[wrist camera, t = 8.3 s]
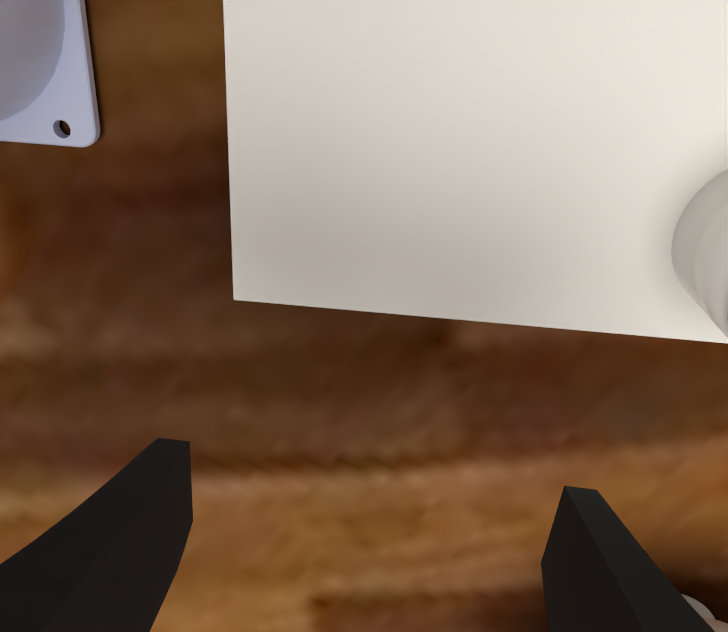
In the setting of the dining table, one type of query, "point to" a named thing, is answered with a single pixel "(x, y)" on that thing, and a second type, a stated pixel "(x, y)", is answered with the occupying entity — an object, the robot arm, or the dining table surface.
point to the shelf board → (474, 156)
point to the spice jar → (705, 249)
